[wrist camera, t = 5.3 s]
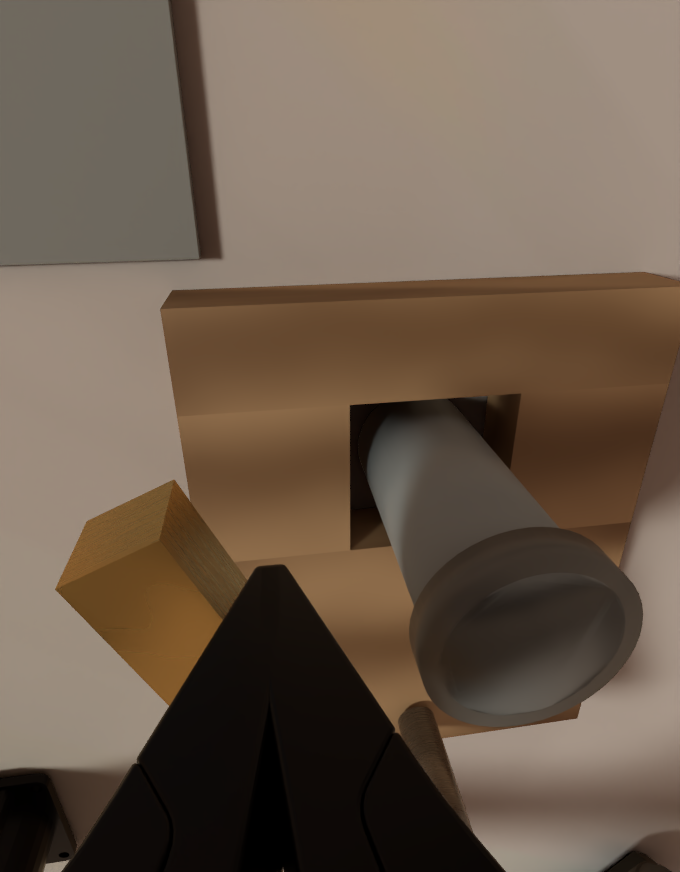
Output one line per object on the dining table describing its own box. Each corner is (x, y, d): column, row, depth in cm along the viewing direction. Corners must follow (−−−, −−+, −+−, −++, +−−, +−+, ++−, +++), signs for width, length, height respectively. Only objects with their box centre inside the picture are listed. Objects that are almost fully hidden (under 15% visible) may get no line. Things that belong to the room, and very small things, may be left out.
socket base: (551, 674, 28) (577, 718, 26) (234, 717, 26) (232, 769, 24) (643, 272, 19) (695, 285, 17) (172, 290, 17) (160, 309, 15)
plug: (469, 492, 22) (615, 710, 13) (347, 503, 21) (415, 740, 13) (482, 376, 20) (668, 544, 11) (346, 384, 19) (428, 570, 10)
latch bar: (438, 722, 24) (536, 1012, 16) (405, 736, 24) (485, 1031, 16) (210, 336, 15) (161, 539, 7) (159, 361, 15) (52, 590, 7)
